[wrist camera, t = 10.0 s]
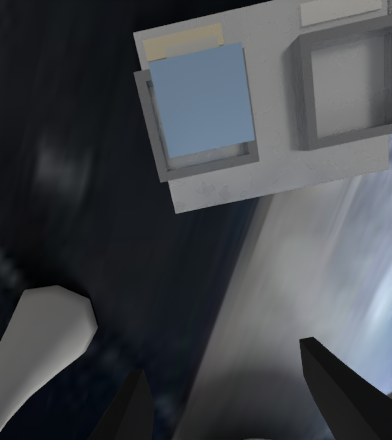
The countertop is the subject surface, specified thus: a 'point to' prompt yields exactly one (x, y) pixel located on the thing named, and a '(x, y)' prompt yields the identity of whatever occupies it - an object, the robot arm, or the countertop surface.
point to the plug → (202, 96)
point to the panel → (285, 98)
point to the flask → (41, 342)
